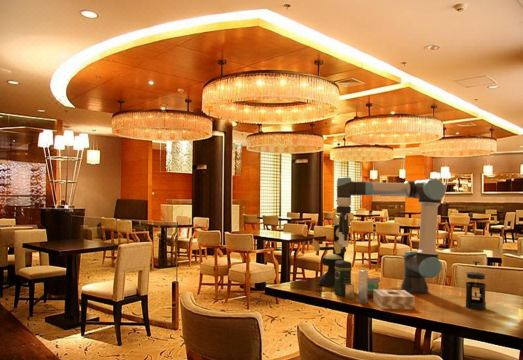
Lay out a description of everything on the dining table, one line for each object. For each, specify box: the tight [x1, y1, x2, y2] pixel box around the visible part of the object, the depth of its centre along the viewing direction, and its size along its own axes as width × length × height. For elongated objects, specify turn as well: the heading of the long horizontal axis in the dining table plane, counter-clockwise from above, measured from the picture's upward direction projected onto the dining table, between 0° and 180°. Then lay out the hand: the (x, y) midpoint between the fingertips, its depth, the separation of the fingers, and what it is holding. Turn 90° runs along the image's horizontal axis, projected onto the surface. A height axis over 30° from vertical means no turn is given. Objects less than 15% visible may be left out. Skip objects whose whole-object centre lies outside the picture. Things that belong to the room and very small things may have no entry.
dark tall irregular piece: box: [311, 211, 352, 288], centre depth 279 cm, size 19×22×45 cm
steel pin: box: [358, 269, 369, 304], centre depth 233 cm, size 4×4×16 cm
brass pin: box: [344, 283, 355, 300], centre depth 241 cm, size 4×4×7 cm
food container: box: [367, 276, 381, 298], centre depth 248 cm, size 12×6×10 cm, turn 105°
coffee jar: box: [333, 259, 353, 297], centre depth 251 cm, size 10×8×19 cm
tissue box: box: [372, 289, 416, 310], centre depth 227 cm, size 16×16×6 cm
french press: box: [465, 260, 487, 311], centre depth 226 cm, size 12×9×23 cm
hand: (343, 245), depth 245 cm, fingers open, 13 cm apart
